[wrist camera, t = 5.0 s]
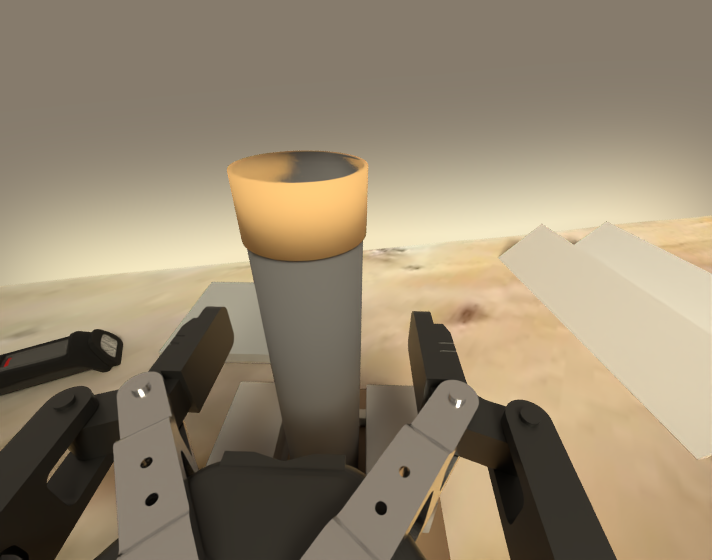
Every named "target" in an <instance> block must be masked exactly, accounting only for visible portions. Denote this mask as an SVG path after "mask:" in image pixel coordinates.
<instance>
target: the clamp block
mask: <svg viewBox="0 0 712 560" xmlns="http://www.w3.org/2000/svg"><path fill="white" fill-rule="evenodd" d="M417 415H418V412H417V406H416V399H415V392H414V386H398V385H367V389H360V405H359V453H358V470H360V471H361V472H363V473H364V474H366V475H368V473H369V472H370V471H371V469H372V468H373V467H374V465H375V464H376V462H377V461H378V460H379V458H380V457H381V456H382V454H383V453H384V452H385V450H386V449H387V447H388V446H389V445H390V443H391V442H392V441H393V439H394V438H395V437H396V435H397V434H398V432H399V431H400V430H401V428H402V427H403V426H404V425H405V424H407V423H408V424H411V423H412V422H413V421H414V419H415V418H416V417H417ZM225 451H248V452H257V453H260V454H263V455H266V456H269V457H272V458H275V459H278V460H281V461H286V460H290V455H289V450H288V446H287V441H286V436H285V431H284V426H283V421H282V416H281V411H280V406H279V402H278V397H277V392H276V387H275V382H242V381H241V382H240V385H239V387H238V390H237V392H236V394H235V397H234V399H233V402H232V404H231V406H230V409H229V411H228V414H227V416H226V418H225V421H224V423H223V426H222V428H221V430H220V433H219V435H218V438H217V440H216V442H215V445H214V447H213V450H212V452H211V454H210V457H209V459H208V462H207V464H206V466H208V465H210V464H213V463H216V462H219V461H221V459H222V457H223V454H224V452H225ZM416 544H417V546H418V547H419V549H420V550H421V552H422V553H423V555H424V556H425V558H426V559H427V560H450V554H449V549H448V543H447V537H446V531H445V525H444V520H443V514H442V508H441V502H440V497H439V498H438V500H437V502H436V505H435V507H434V509H433V512H432V514H431V516H430V518H429V520H428V522H427V524H426V526H425V528H424V530H423V532H422V533H421V535H420V537H419V539H418V541H417V543H416Z"/></svg>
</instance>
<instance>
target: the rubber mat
mask: <svg viewBox="0 0 712 560" xmlns="http://www.w3.org/2000/svg"><path fill="white" fill-rule="evenodd" d="M207 306H216V307H226V309H227V311H228V314H229V318H230V321H231V325H232V329H233V332H234V343H233V347H232V349H231V351H230V353H229V355H228V357H227V359H226V361H225V362H227V363H269V364H271V363H270V358H269V353H268V348H267V343H266V338H265V333H264V328H263V324H262V319H261V314H260V309H259V304H258V299H257V294H256V289H255V285H254V283H244V282H211V284H210V285H209V286H208V288H207V289H206V290H205V292H204V293H203V294H202V296H201V297H200V298H199V300H198V301H197V302H196V304H195V305H194V306H193V307H192V309H191V310H190V311H189V313H188V314H187V315H186V317H185V318H184V319H183V321H182V322H181V323H180V325H179V326H178V327H177V328H176V330H175V331H174V332H173V334H172V335H171V336H170V338H169V339H168V340H167V342H166V343H165V344H164V346H163V347H162V348H161V350H160V351H159V354H160V355H161V354H162V353H163V351H164V350H165V349H166V347H167V346H168V345H169V344H170V342H171V340H172V339H173V338H174V337H176V334H177V332H178V331H179V330H180V328H181V327H182V326H183V325H184V324H186V323H187V322H188V321H190V320H191V319H192V318H198V316H199V315H200V314H201V312H202V311H203V309H204V308H205V307H207Z"/></svg>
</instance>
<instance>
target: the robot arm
mask: <svg viewBox="0 0 712 560" xmlns="http://www.w3.org/2000/svg"><path fill="white" fill-rule="evenodd" d="M233 343H234V332H233V329H232V325H231V321H230V318H229V314H228V311H227V309H226V307H216V306H207V307H205V308H204V309H203V311H202V312H201V314H200V315H199V316H198V318H192V319H191V320H190V321H188V322H187V323H186V324H184V325H183V326H182V327H181V328H180V330H179V331H178V332H177V334H176V337H174V338H173V339H172V340H171V342H170V344H169V345H168V346H167V347H166V349H165V350H164V351H163V353H162V354H161V355H160V357H159V358H158V359H157V361H156V362H155V363H154V365H153V366H152V367H151V369H150V370H149V371H148V372H144V373H141V374H138V375H136V376H134V377H132V378H130V379H129V380H127V381H126V382H125V383H124V384H123V385H122V386H121V387H120V389H119V390H115V391H110V392H106V393H101V394H97V395H94V394H93V393H92V391H91V390H90V389H89V388H88V387H85V386H77V387H72V388H69V389H66V390H64V391H62V392H60V393H58V394H56V395H55V396H53V397H52V398H50V399H49V400H48V401H47V402H46V403H45V404H44V405H43V406H42V407H41V408H40V409H39V410H38V411H37V412H36V414H35V415H34V416H33V417H32V418H31V419H30V420H29V421H28V422H27V423H26V424H25V425H24V427H23V428H22V429H21V430H20V431H19V432H18V433H17V434H16V435H15V436H14V437H13V438H12V440H11V441H10V442H9V443H8V444H7V445H6V446H5V447H4V448H3V449H2V450H1V451H0V560H54V559H55V558H56V556H57V554H58V553H59V551H60V549H61V548H62V546H63V544H64V543H65V541H66V539H67V538H68V536H69V535H70V533H71V531H72V530H73V528H74V526H75V525H76V523H77V521H78V520H79V518H80V516H81V515H82V513H83V511H84V510H85V508H86V506H87V505H88V503H89V501H90V500H91V498H92V496H93V495H94V493H95V491H96V490H97V488H98V486H99V485H100V483H101V481H102V480H103V478H104V477H105V475H106V473H107V472H108V470H109V468H110V467H111V465H112V463H113V462H114V470H115V486H116V503H117V520H118V536H119V538H118V539H117V540H116V541H114V542H113V543H112V544H111V545H110V546H109V547H108V548H106V549H105V550H104V551H103V552H102V553H101V554H100V555H98V556H97V557H96V558H95V559H94V560H427V559H426V558H425V556H424V555H423V553H422V552H421V550H420V549H419V547H418V546H417V544H416V543H417V541H418V539H419V537H420V535H421V533H422V532H423V530H424V528H425V526H426V524H427V522H428V520H429V518H430V516H431V514H432V512H433V509H434V507H435V505H436V502H437V500H438V498H439V496H440V494H441V492H442V490H443V488H444V486H445V484H446V483H447V481H448V479H449V477H450V475H451V473H452V471H453V469H454V467H455V465H456V464H457V462H458V460H459V458H460V457H463V458H465V459H468V460H471V461H474V462H476V463H479V464H482V465H484V466H487V467H488V471H489V475H490V479H491V483H492V487H493V491H494V495H495V499H496V503H497V507H498V511H499V515H500V519H501V523H502V527H503V531H504V535H505V539H506V543H507V547H508V551H509V555H510V559H511V560H617V559H616V557H615V554H614V552H613V550H612V548H611V546H610V544H609V542H608V539H607V537H606V535H605V533H604V531H603V529H602V527H601V525H600V522H599V520H598V518H597V516H596V514H595V512H594V510H593V507H592V505H591V503H590V501H589V499H588V497H587V495H586V492H585V490H584V488H583V486H582V484H581V482H580V480H579V478H578V475H577V473H576V471H575V469H574V467H573V465H572V463H571V460H570V458H569V456H568V454H567V452H566V450H565V448H564V446H563V443H562V441H561V439H560V437H559V435H558V433H557V431H556V428H555V426H554V424H553V422H552V420H551V418H550V417H549V415H548V414H547V413H546V412H545V411H544V410H543V409H542V408H541V407H539V406H538V405H536V404H534V403H532V402H529V401H526V400H514V401H511V402H510V403H508V405H507V406H503V405H500V404H496V403H493V402H490V401H487V400H485V399H483V398H481V397H479V396H478V395H477V394H476V392H475V391H474V390H473V389H472V388H471V387H470V386H469V385H467V382H466V380H465V377H464V373H463V370H462V367H461V364H460V361H459V358H458V355H457V352H456V349H455V346H454V344H453V339H452V336H451V333H450V332H449V331H448V329H447V328H446V327H445V326H444V325H443V324H433V320H432V316H431V313H430V312H423V311H412V314H411V322H410V330H409V338H408V351H409V358H410V365H411V372H412V379H413V385H414V392H415V399H416V406H417V412H418V415H417V417H416V418H415V419H414V421H413V422H412V423H411V424H408V423H407V424H405V425H404V426H403V427H402V428H401V430H400V431H399V432H398V434H397V435H396V437H395V438H394V439H393V441H392V442H391V443H390V445H389V446H388V447H387V449H386V450H385V452H384V453H383V454H382V456H381V457H380V458H379V460H378V461H377V462H376V464H375V465H374V467H373V468H372V469H371V471H370V472H369V473H368V475H366V474H364V473H363V472H361V471H360V470H358V469H356V468H354V467H352V466H349V465H347V464H346V455H336V454H313V455H308V456H304V457H300V458H295V459H291V460H286V461H281V460H278V459H275V458H272V457H269V456H266V455H263V454H260V453H257V452H248V451H225V452H224V454H223V457H222V459H221V461H219V462H216V463H213V464H210V465H208V466H206V467H204V468H202V469H200V470H199V469H198V466H197V463H196V460H195V457H194V453H193V449H192V446H191V442H190V438H189V435H188V431H187V427H186V424H185V421H184V418H185V416H186V414H187V413H188V412H191V413H199V412H200V410H201V408H202V406H203V404H204V402H205V400H206V399H207V397H208V395H209V393H210V391H211V389H212V387H213V385H214V383H215V381H216V379H217V377H218V375H219V373H220V371H221V369H222V367H223V365H224V363H225V361H226V359H227V357H228V355H229V353H230V351H231V349H232V347H233ZM67 448H68V450H69V451H70V453H69V454H68V455H67V457H66V458H65V459H64V461H63V462H62V464H61V465H60V466H59V468H58V469H57V470H56V472H55V473H54V474H53V476H52V477H51V478H50V480H49V481H48V483H47V478H48V475H49V473H50V471H51V470H52V468H53V467H54V466H55V464H56V463H57V462H58V460H59V459H60V458H61V456H62V455H63V454H64V452H65V451H66V450H67Z"/></svg>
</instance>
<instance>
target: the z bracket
mask: <svg viewBox="0 0 712 560" xmlns="http://www.w3.org/2000/svg"><path fill="white" fill-rule="evenodd" d="M498 258H499V259H500V260H501V261H502V262H503V263H504V264H505V265H506V266H507V268H508V269H509V270H510V271H511V272H512V273H513V274H514V275H515V276H516V277H517V278H518V279H519V280H520V281H521V282H522V283H523V284H524V285H525V286H526V287H527V288H528V289H529V290H530V291H531V292H532V293H533V294H534V295H535V296H536V297H537V298H538V299H539V300H540V301H541V302H542V303H543V304H544V305H545V306H546V307H547V308H548V309H549V310H550V311H551V312H552V313H553V314H554V315H555V316H556V317H557V318H558V319H559V320H560V321H561V322H562V323H563V324H564V325H565V326H566V327H567V328H568V329H569V330H570V331H571V332H572V333H573V334H574V336H575V337H576V338H577V339H578V340H579V341H580V342H581V343H582V344H583V345H584V346H585V347H586V348H587V349H588V350H589V351H590V352H591V353H592V354H593V355H594V356H595V357H596V358H597V359H598V360H599V361H600V362H601V363H602V364H603V365H604V366H605V367H606V368H607V369H608V370H609V371H610V372H611V373H612V374H613V375H614V376H615V377H616V378H617V379H618V380H619V381H620V382H621V383H622V384H623V385H624V386H625V387H626V388H627V389H628V390H629V391H630V392H631V393H632V394H633V395H634V396H635V397H636V398H637V399H638V400H639V401H640V402H641V403H642V404H643V405H644V406H645V407H646V408H647V409H648V410H649V411H650V412H651V413H652V414H653V415H654V416H655V417H656V418H657V419H658V420H659V421H660V422H661V423H662V424H663V425H664V426H665V427H666V428H667V429H668V430H669V431H670V432H671V433H672V434H673V435H674V436H675V437H676V438H677V439H678V440H679V442H680V443H681V444H682V445H683V446H684V447H685V448H686V449H687V450H688V451H689V452H690V453H691V454H692V455H693V456H694V457H695V458H696V459H705V458H708V457H710V456H712V274H711V273H709V272H707V271H705V270H703V269H701V268H699V267H697V266H695V265H693V264H691V263H689V262H687V261H685V260H683V259H681V258H679V257H677V256H675V255H673V254H671V253H669V252H667V251H665V250H663V249H661V248H659V247H657V246H655V245H653V244H651V243H649V242H647V241H645V240H643V239H641V238H639V237H637V236H635V235H633V234H631V233H629V232H627V231H625V230H623V229H621V228H619V227H617V226H615V225H613V224H611V223H609V222H607V221H606V222H605V223H603V224H602V225H601V226H599V227H598V228H596V229H595V230H594V231H592V232H591V233H589V234H588V235H587V236H585V237H584V238H583V239H581V240H580V241H578V242H577V243H576V244H572V243H571V242H569V241H568V240H566V239H564V238H563V237H561V236H560V235H558V234H557V233H555V232H554V231H552V230H551V229H549V228H548V227H546V226H545V225H543V224H541V225H540V226H538V227H537V228H536V229H535V230H533V231H532V232H531V233H529V234H528V235H527V236H525V237H524V238H523V239H522V240H520V241H519V242H518V243H516V244H515V245H514V246H512V247H511V248H510V249H509V250H507V251H506V252H505V253H503V254H502V255H501V256H499V257H498Z"/></svg>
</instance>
